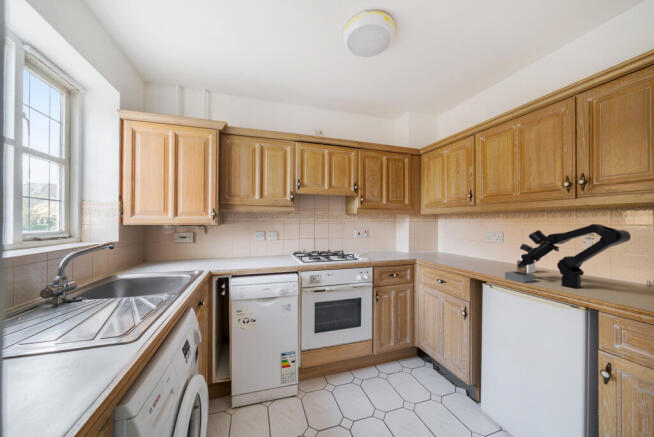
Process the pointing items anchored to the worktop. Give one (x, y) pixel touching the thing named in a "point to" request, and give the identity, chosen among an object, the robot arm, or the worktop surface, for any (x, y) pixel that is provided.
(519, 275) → the well block
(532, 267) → the medicine bottle
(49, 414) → the worktop surface
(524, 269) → the brown tall square block
